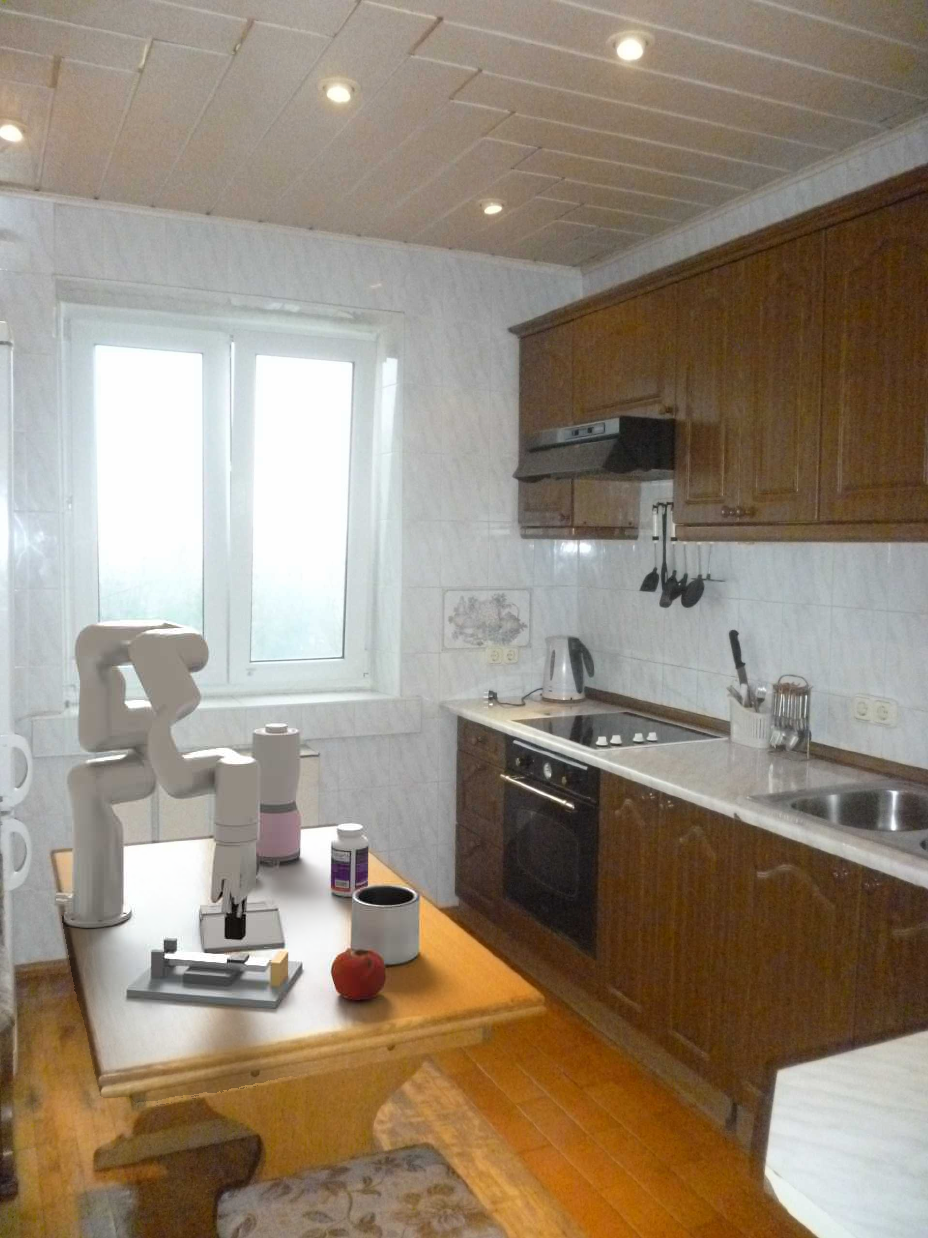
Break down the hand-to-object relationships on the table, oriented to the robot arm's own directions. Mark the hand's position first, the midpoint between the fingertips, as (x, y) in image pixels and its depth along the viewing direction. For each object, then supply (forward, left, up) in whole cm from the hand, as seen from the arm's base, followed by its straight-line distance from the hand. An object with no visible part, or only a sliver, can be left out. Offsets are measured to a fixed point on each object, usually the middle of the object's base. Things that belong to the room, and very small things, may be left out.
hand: (235, 937), depth 175 cm
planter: (+23, +17, -8) cm, 29 cm away
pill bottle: (+9, +49, -8) cm, 50 cm away
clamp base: (-3, 0, -8) cm, 8 cm away
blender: (-13, +70, -8) cm, 72 cm away
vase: (-16, +53, -8) cm, 56 cm away
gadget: (-7, +25, -9) cm, 27 cm away
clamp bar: (-4, 0, -5) cm, 6 cm away
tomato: (+22, -1, -8) cm, 23 cm away
